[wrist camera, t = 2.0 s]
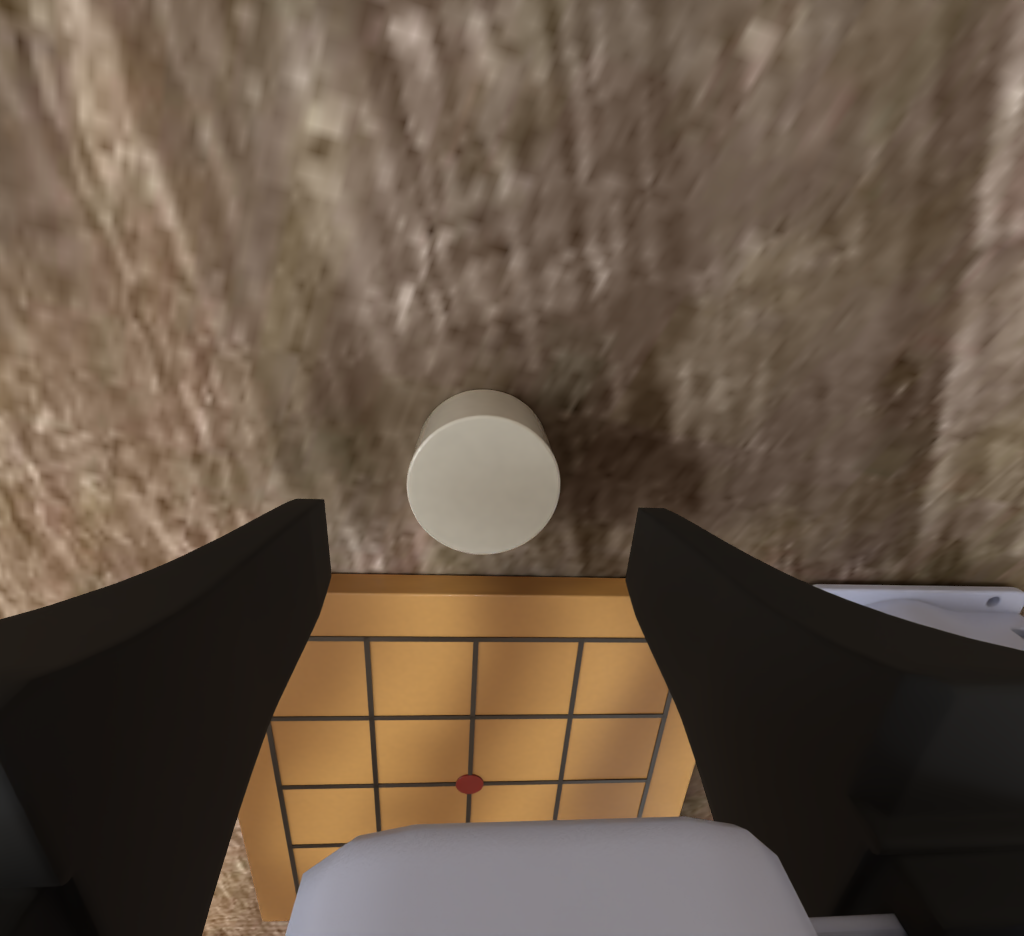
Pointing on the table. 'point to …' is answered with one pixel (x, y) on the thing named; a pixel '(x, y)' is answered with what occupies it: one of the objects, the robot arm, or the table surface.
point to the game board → (460, 718)
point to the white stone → (483, 474)
